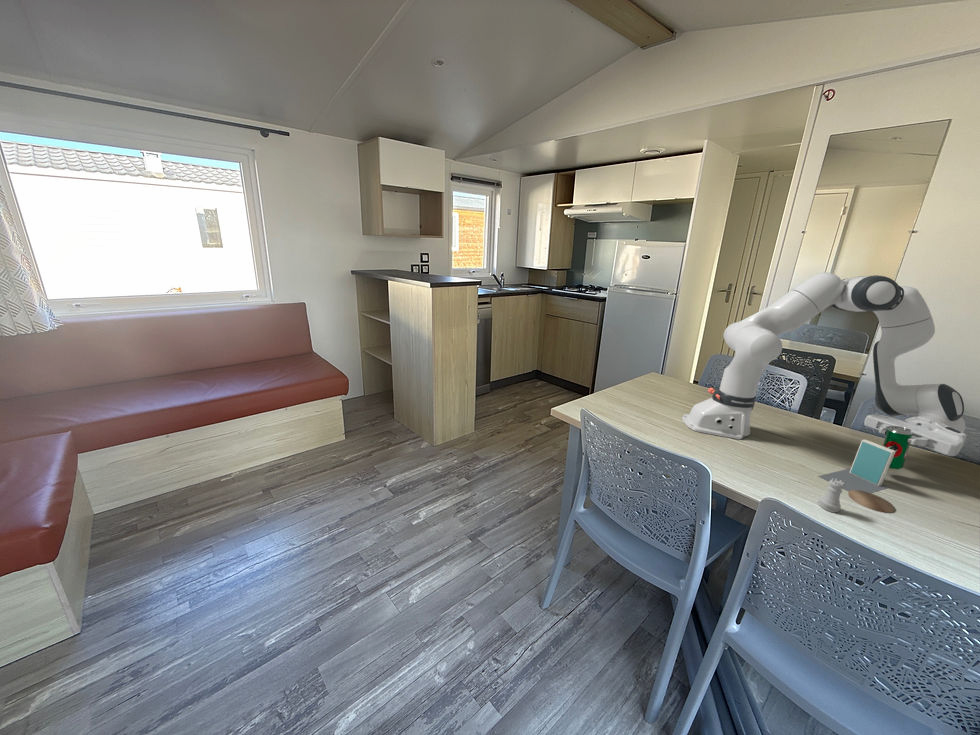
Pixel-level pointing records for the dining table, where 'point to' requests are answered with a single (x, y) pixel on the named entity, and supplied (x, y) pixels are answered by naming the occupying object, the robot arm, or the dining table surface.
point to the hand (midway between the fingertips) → (895, 436)
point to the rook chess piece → (832, 496)
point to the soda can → (897, 444)
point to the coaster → (871, 501)
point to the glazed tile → (872, 462)
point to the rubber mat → (853, 481)
